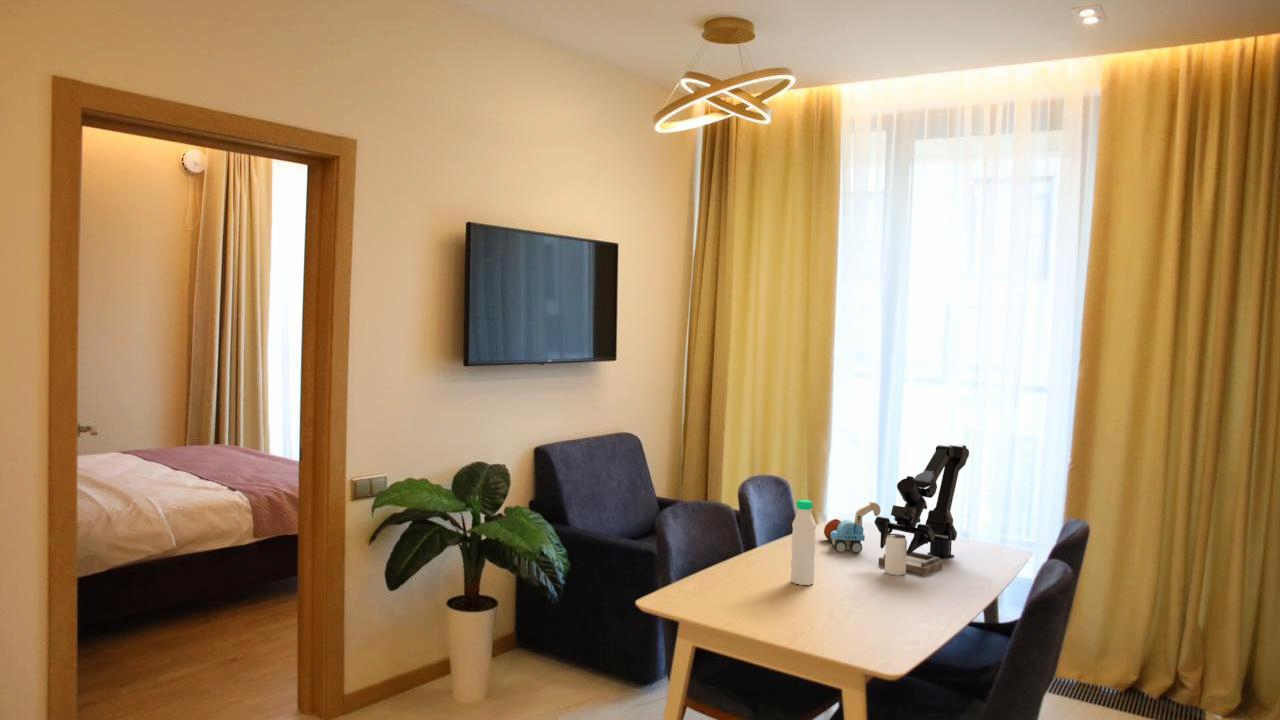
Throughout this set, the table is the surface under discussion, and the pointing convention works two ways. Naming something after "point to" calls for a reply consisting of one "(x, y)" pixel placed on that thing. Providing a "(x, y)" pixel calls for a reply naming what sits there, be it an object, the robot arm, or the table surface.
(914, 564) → the dock
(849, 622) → the table surface
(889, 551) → the can
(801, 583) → the water bottle
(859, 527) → the toy excavator
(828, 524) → the fruit
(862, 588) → the table surface
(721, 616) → the table surface
